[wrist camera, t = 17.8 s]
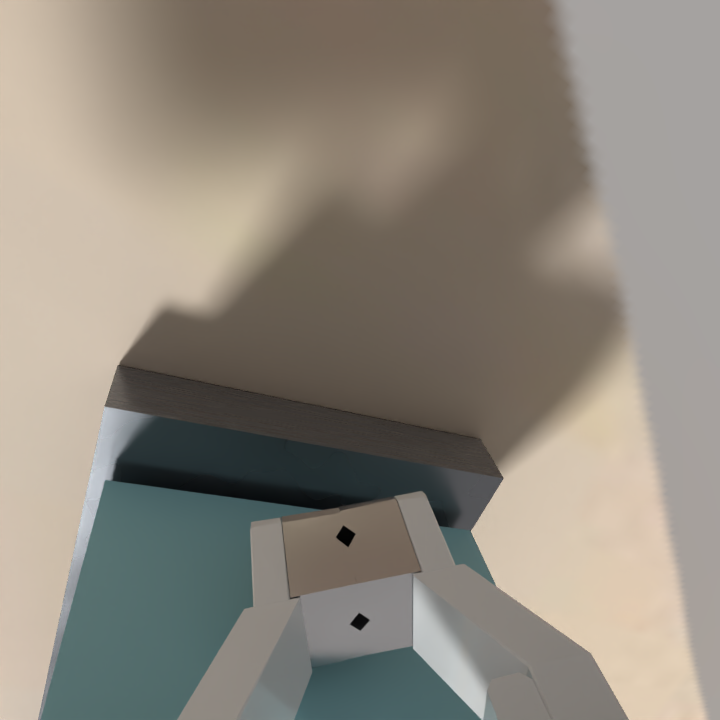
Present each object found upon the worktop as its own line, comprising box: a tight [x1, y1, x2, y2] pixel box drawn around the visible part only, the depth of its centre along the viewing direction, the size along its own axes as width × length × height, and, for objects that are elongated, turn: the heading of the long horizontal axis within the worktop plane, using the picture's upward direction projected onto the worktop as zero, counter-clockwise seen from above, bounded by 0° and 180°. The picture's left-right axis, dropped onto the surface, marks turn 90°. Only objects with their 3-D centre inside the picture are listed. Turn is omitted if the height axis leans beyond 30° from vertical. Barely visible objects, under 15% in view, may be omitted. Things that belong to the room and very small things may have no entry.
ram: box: [41, 480, 496, 720], centre depth 11 cm, size 3×8×4 cm, turn 69°
